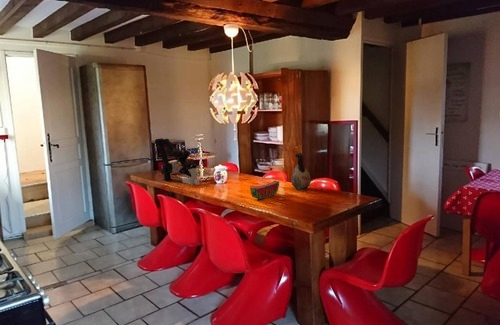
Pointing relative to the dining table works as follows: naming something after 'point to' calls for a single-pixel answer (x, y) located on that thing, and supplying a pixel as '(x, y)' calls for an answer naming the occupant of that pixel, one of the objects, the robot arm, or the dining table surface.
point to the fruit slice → (265, 190)
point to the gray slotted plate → (193, 174)
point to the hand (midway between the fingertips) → (193, 175)
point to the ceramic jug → (300, 175)
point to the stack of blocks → (175, 166)
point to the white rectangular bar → (186, 180)
